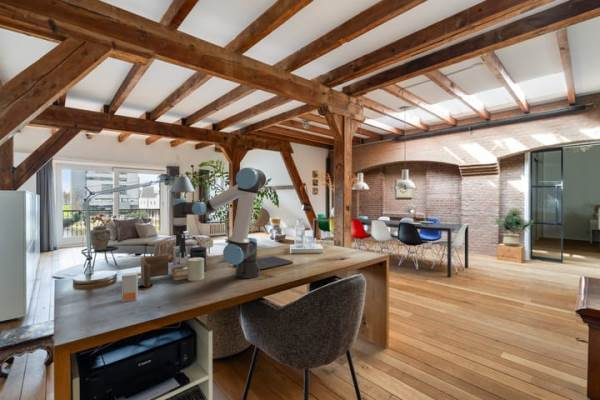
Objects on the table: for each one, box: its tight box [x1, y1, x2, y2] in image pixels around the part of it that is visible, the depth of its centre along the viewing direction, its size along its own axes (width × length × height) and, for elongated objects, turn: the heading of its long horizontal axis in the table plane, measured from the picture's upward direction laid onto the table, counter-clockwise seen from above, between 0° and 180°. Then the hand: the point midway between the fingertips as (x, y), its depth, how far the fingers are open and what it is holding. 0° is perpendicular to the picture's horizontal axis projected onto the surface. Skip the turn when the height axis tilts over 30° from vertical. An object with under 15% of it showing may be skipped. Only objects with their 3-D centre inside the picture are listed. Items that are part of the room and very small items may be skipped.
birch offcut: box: [170, 266, 188, 276], centre depth 168 cm, size 9×7×3 cm
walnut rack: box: [140, 254, 170, 288], centre depth 162 cm, size 22×15×12 cm
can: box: [187, 257, 205, 282], centre depth 165 cm, size 9×9×12 cm
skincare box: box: [121, 272, 139, 303], centre depth 131 cm, size 6×4×12 cm
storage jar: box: [189, 246, 207, 273], centre depth 180 cm, size 10×10×15 cm
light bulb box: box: [172, 245, 189, 267], centre depth 168 cm, size 11×7×11 cm, turn 32°
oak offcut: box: [171, 273, 188, 281], centre depth 168 cm, size 10×8×3 cm
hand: (180, 261), depth 168 cm, fingers closed on light bulb box, 11 cm apart
